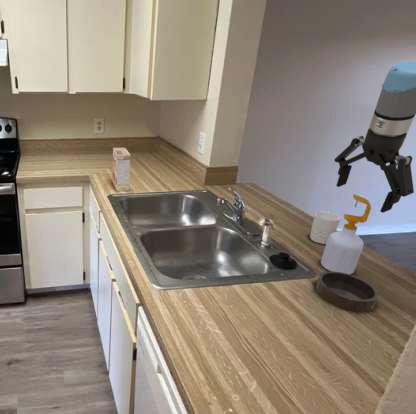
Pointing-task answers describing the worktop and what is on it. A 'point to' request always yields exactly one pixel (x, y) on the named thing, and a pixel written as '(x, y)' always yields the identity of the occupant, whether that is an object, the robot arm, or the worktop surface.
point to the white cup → (323, 226)
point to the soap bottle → (345, 244)
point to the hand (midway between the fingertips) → (362, 197)
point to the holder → (347, 291)
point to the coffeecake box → (121, 169)
